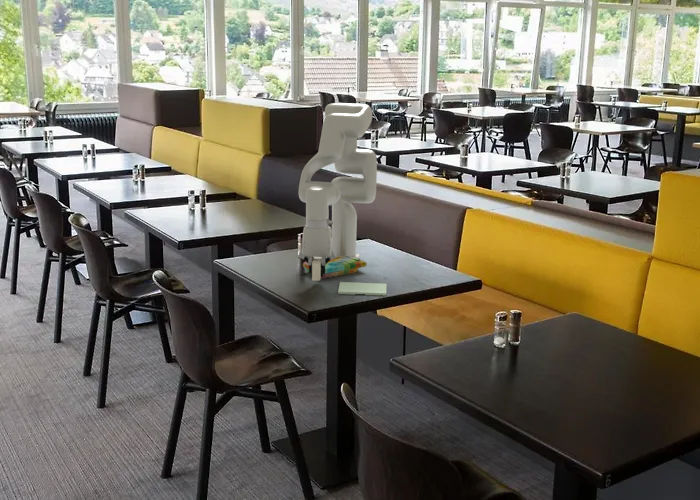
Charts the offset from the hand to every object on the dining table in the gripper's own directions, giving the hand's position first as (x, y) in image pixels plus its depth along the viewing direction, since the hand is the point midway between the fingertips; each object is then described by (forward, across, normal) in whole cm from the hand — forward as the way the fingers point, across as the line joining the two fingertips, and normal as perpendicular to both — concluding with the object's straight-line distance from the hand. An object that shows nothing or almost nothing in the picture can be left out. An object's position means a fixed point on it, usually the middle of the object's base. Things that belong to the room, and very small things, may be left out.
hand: (317, 275), depth 270 cm
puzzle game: (+5, -5, -17) cm, 18 cm away
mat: (+4, -16, +4) cm, 17 cm away
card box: (0, 0, 0) cm, 0 cm away
